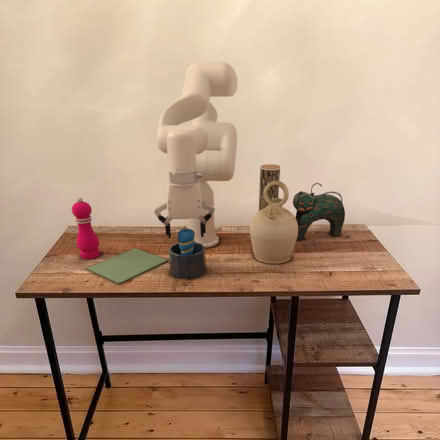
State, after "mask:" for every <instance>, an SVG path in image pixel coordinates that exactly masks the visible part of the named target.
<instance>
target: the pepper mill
mask: <svg viewBox="0 0 440 440" xmlns="http://www.w3.org/2000/svg"><path fill="white" fill-rule="evenodd" d="M92 210H93V209H92V206H91V204H90V203H88V202H87V201H84V199H83V197H81V196H78V197H76V202H74V204H73V205H72V206H71V214H72V216H74V217H75V218H74V220H75V223H76V224H77V228H78V231H77V232H78V233H77V237H76V247H77V248H78V249H79V256H80V258H82V259H83V260H92V259H96V258H98V257H99V256H100V249H99V246H100V240H99V237H98V236H97V234H96V233H95V230H94V229H93V227H92V221H93V219H92V216H91V214H92V212H93V211H92Z"/></svg>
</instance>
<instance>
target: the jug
mask: <svg viewBox="0 0 440 440" xmlns="http://www.w3.org/2000/svg"><path fill="white" fill-rule="evenodd" d="M273 186H279V188H280V189H281V190H282V192H283V198H281V197H278V198H273V199H272V200H271V199H270V197H269V189H270V188H271V187H273ZM289 196H290V193H289V188H288V187H287V185H286V184H285V183H284V182H283V181H280V180H279V181H278V180H276V181H272V182H270V183H269V184H267V186H266V187H265V189H264V199H265V201H266V202H267V203H268V206H267V207H266V208H263V209H262V210H260V211H259V210H258V211H257V212H256V213H255V214H254V215H253V217H252V219H251V221H250V225H249V235H250V242H251V247H252V252H253V255H254V257H255V259H256V260H258V261H259V262H261V263H264V264H268V265H270V264H271V265H279V264H280V265H281V264H284V263H287V262H289V261H290V260H291V259H292V255H293V253H294V251H295V248H296V247H295V246H296V243H297V236H298V224H297V220H296V218H295V217H296V215H294V214H293V213H292V211H290V210H288V209H287V208H285V207H283V205H285V204H286V203H287V202H288V200H289Z"/></svg>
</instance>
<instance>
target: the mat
mask: <svg viewBox="0 0 440 440" xmlns="http://www.w3.org/2000/svg"><path fill="white" fill-rule="evenodd" d="M168 261H169V259H166V258H163V257H160V256H158V255H155V254H153V253H150V252H147V251H144V250H142V249H139V248H136V247H134V248H132V249H130V250H127V251H125V252H122V253H120V254H117V255H115V256H113V257H109V258H108V259H105V260H102V261H100V262H98V263H95V264H93V265H91V266H88V267H86V270H87V271H90V272H91V273H94V274H96V275H99V276H101V277H103V278H105V279H107V280H109V281H111V282H114V283H116V284H118V285H120V284H122V283H125V282H126V281H130V280H131V279H133V278H135V277H138V276H140V275H141V274H144V273H146V272H148V271H150V270H152V269H154V268H156V267H158V266H160V265H163V264H165V263H167V262H168Z"/></svg>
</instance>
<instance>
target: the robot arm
mask: <svg viewBox="0 0 440 440" xmlns="http://www.w3.org/2000/svg"><path fill="white" fill-rule="evenodd" d="M237 89H238V75H237V71H236V70H235V68H234V67H233V66H232V65H231V64H229V63H228V62H225V61H200V62H194V63H192V64H190V65H189V67H188V68H187V69H186V73H185V77H184V81H183V86H182V91H181V94H180V97H179V98H178V99H176V100H174V101H173V102H172V103H171V104H170V105H169V106H167V107H166V108H165V109H164V111H163V112H162V113H161V116H160V119H159V123H158V127H157V132H156V144H157V147H158V149H159V150H160V152H162V153H164V154H167V162H168V163H167V165H168V178H169V179H168V180H169V181H167V182H166V189H165V199H166V200H165V203H163V204H161V205H159V206H158V207H156V208H155V209H154V210H153V212H154V214H155V216H156V218H157V220H158V221H160V222H161V223H162V224H163V225H164V229H165V235H166V236H167V237H168V239H171V238H172V232H171V229H172V228H171V221H172V220H186V223H187V228H188V229H191V230H193V231H194V233H195V236H194V240H195V242H197V243H200V244H203V246H204V247H205V249H207V248H211V247H215V246H216V245H218V244H219V242H220V238H219V236H218V235H217V233H218V232H221V231H222V230H223V226H222V225H220V224H218V225H217V226H215V210H216V209H215V194H214V190H213V188H212V187H211V185H210V184H209V183H208V182H229V181H231V180H232V179H233V178H234V176H235V171H236V161H237V160H236V159H237V149H238V131H237V128H236V126H235V125H234V124H233V123H231V122H228V121H227V122H225V121H223V122H222V121H221V122H220V121H218V111H217V110H216V108H215V106H214V105H213V104H212V102H211V101H210V100H211V98H212V97H213V98H214V97H215V98H217V97H219V98H222V97H224V98H225V97H227V98H229V97H233V96H234V95H235V94H236V93H237ZM190 121H191V125H185V124H184V123H188V122H190ZM183 124H184V125H183ZM165 210H166V217H165V216H164V215H162V212H163V211H165Z"/></svg>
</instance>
